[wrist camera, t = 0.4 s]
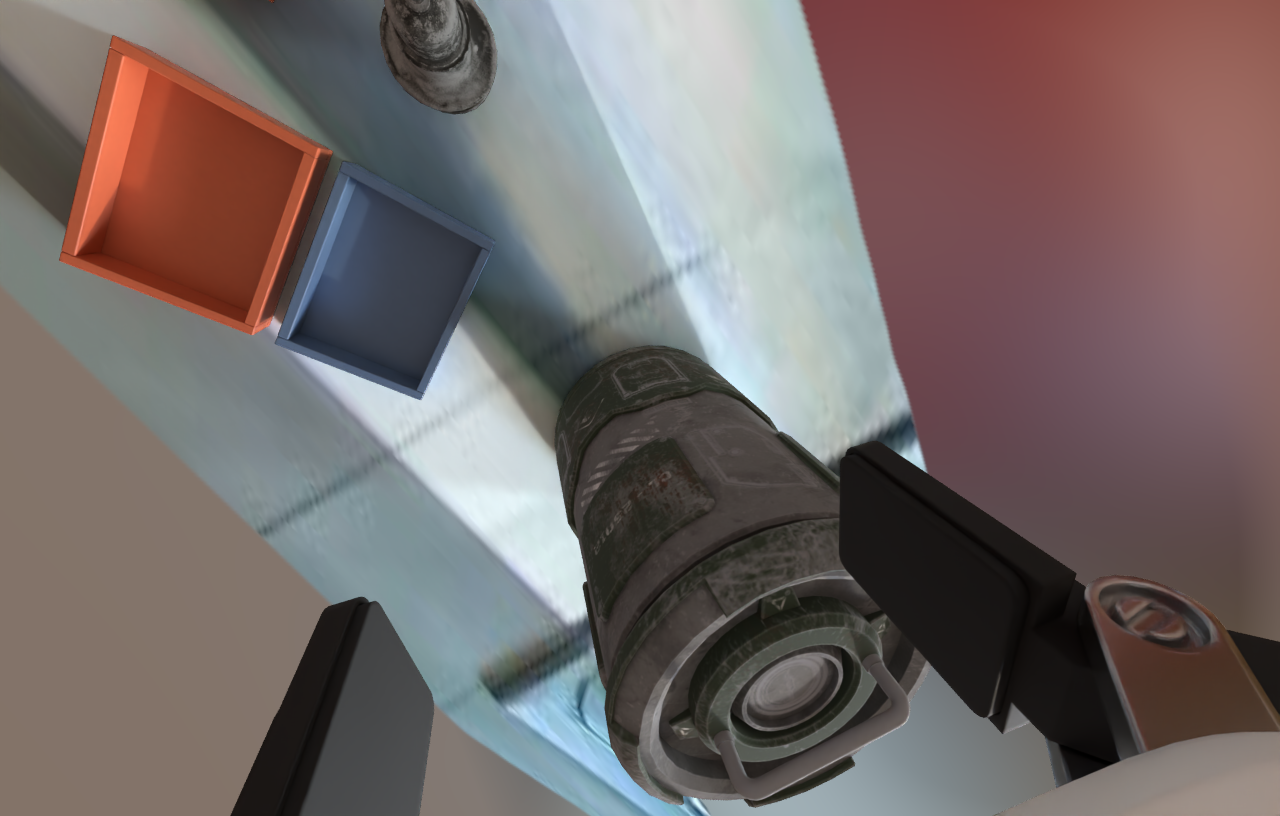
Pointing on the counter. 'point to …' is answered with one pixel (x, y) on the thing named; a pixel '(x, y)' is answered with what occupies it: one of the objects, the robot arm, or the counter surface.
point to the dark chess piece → (440, 52)
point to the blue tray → (383, 283)
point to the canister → (720, 588)
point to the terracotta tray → (190, 192)
